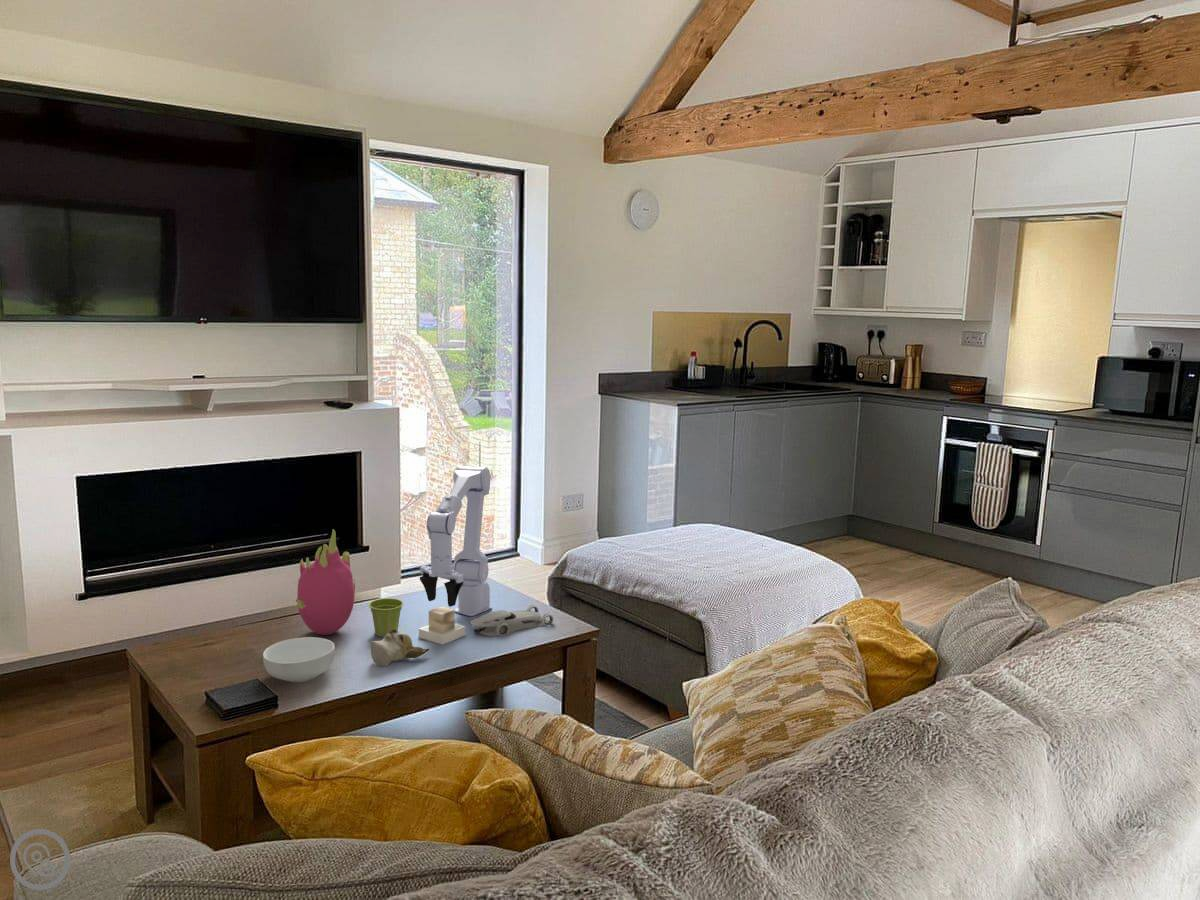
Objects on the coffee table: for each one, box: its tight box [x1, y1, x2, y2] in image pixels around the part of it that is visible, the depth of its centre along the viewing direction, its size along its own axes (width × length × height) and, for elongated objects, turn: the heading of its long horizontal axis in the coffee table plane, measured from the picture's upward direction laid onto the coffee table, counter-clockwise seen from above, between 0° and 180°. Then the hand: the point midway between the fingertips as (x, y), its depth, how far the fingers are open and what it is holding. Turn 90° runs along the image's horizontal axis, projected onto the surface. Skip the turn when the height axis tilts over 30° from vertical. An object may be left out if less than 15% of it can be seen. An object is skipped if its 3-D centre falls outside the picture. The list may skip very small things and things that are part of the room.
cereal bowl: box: [262, 636, 336, 683], centre depth 221 cm, size 17×17×7 cm
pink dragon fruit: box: [295, 528, 356, 636], centre depth 248 cm, size 18×14×30 cm
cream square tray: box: [418, 623, 466, 645], centre depth 249 cm, size 9×9×3 cm
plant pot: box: [368, 597, 404, 638], centre depth 250 cm, size 9×9×9 cm
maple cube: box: [428, 605, 456, 632], centre depth 249 cm, size 5×5×5 cm
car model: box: [470, 604, 554, 637], centre depth 258 cm, size 11×24×5 cm, turn 124°
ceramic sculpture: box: [370, 630, 430, 668], centre depth 232 cm, size 11×9×15 cm
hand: (441, 602), depth 248 cm, fingers open, 7 cm apart
